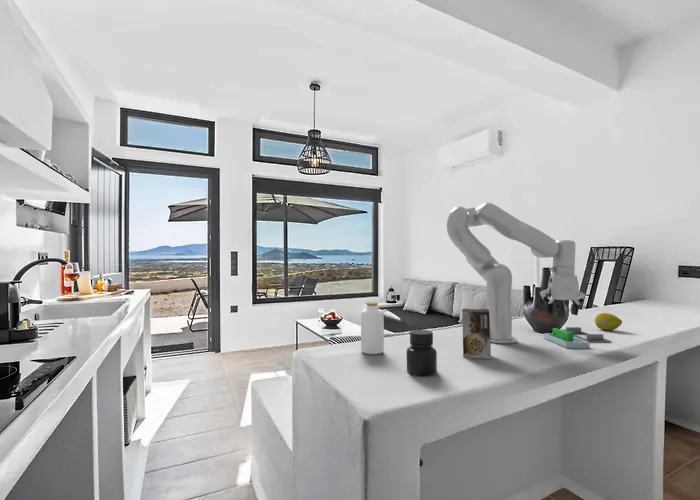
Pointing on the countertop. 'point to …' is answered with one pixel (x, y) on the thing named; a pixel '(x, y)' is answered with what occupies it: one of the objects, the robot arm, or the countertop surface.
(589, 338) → the rack rail
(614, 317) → the lemon
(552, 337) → the parts tray
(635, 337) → the countertop surface
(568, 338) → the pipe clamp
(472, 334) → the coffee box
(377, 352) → the white bottle
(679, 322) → the countertop surface
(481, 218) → the robot arm
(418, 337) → the ink bottle
